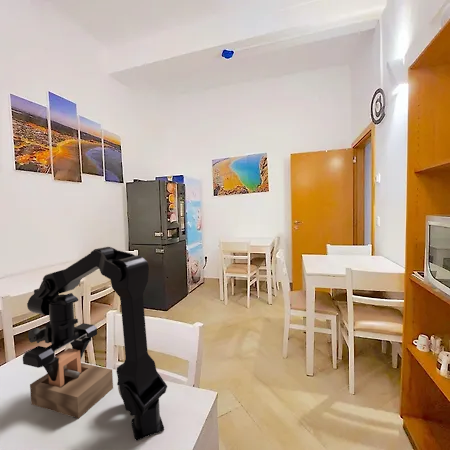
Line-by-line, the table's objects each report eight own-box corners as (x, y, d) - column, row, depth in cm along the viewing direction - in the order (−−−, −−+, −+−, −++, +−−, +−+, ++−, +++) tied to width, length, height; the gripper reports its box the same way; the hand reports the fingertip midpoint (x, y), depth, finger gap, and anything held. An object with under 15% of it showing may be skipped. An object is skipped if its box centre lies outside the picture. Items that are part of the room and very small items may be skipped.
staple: (70, 369, 82) (69, 348, 81) (81, 372, 81) (80, 350, 80) (49, 384, 75) (47, 360, 75) (60, 387, 74) (58, 363, 74)
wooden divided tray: (113, 388, 81) (111, 364, 80) (78, 418, 69) (76, 391, 69) (69, 377, 86) (68, 355, 85) (31, 404, 75) (29, 378, 74)
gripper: (68, 302, 88) (71, 351, 89) (4, 328, 70) (9, 388, 72) (97, 306, 84) (99, 357, 86) (37, 334, 67) (42, 397, 68)
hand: (65, 372), depth 78 cm, fingers closed on staple, 7 cm apart
